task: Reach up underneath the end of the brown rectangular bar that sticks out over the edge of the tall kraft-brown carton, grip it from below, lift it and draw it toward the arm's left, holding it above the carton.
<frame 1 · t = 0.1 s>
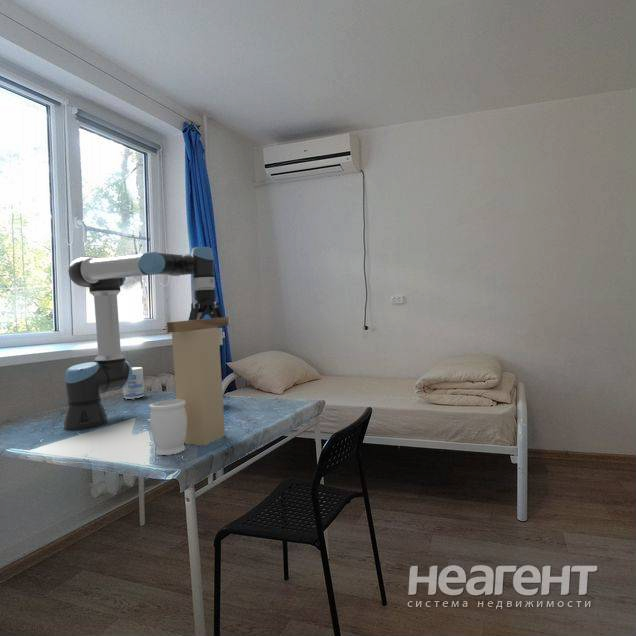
hand: (208, 346, 176), 28 cm above the table, tool pointing down, fingers open, 13 cm apart
brown rectangular bar: (200, 328, 156), point 36 cm above the table, touching carton
supplement tub: (134, 398, 234), on the table
carton: (202, 439, 155), on the table
jar: (170, 452, 144), on the table
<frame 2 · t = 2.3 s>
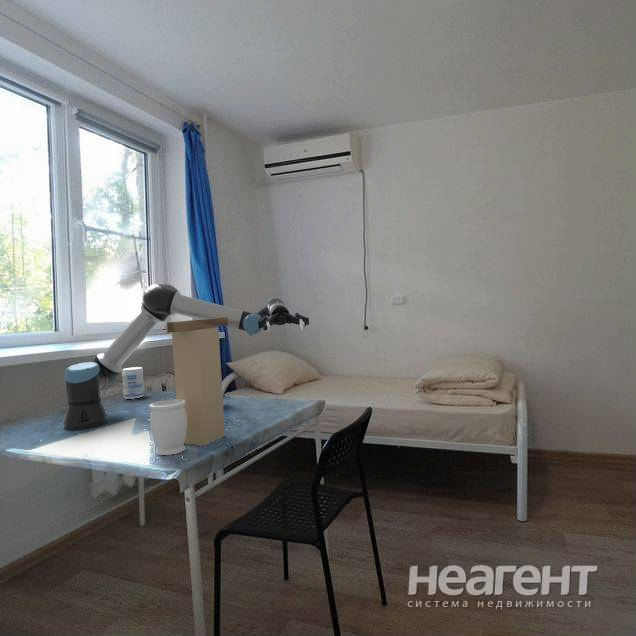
hand: (286, 328, 169), 34 cm above the table, tool horizontal, fingers open, 12 cm apart
nothing on the table moved.
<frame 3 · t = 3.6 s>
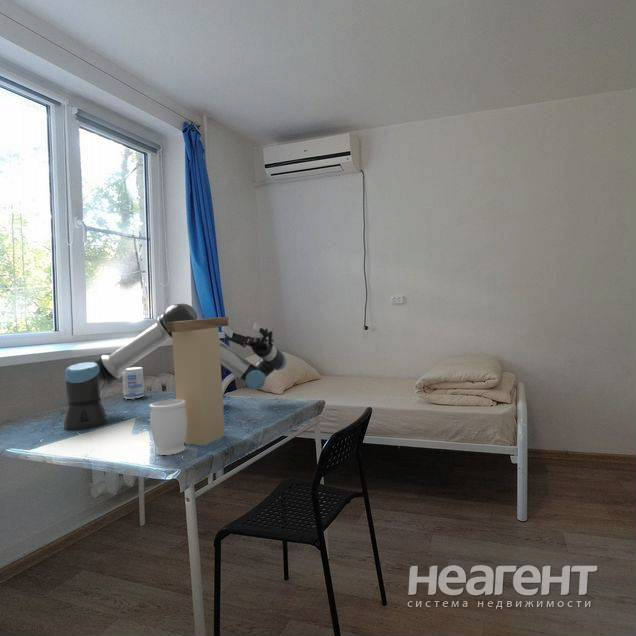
hand: (238, 326, 178), 35 cm above the table, tool pointing upward, fingers open, 13 cm apart
nothing on the table moved.
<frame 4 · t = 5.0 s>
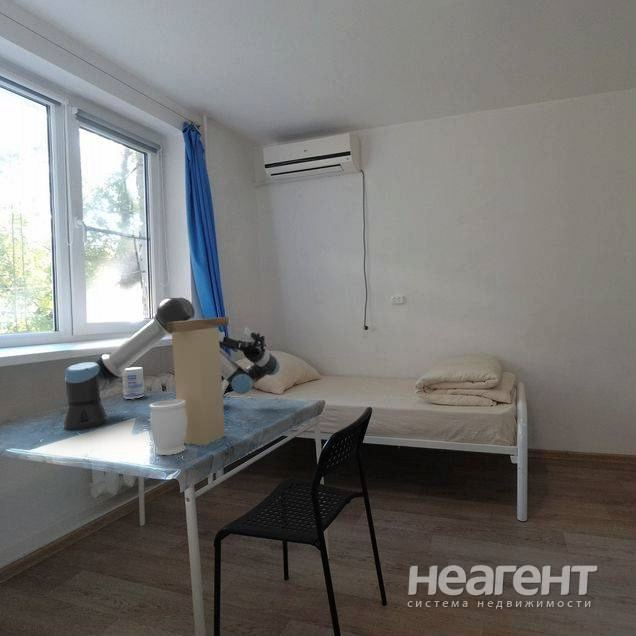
hand: (229, 330, 172), 34 cm above the table, tool pointing upward, fingers open, 13 cm apart
nothing on the table moved.
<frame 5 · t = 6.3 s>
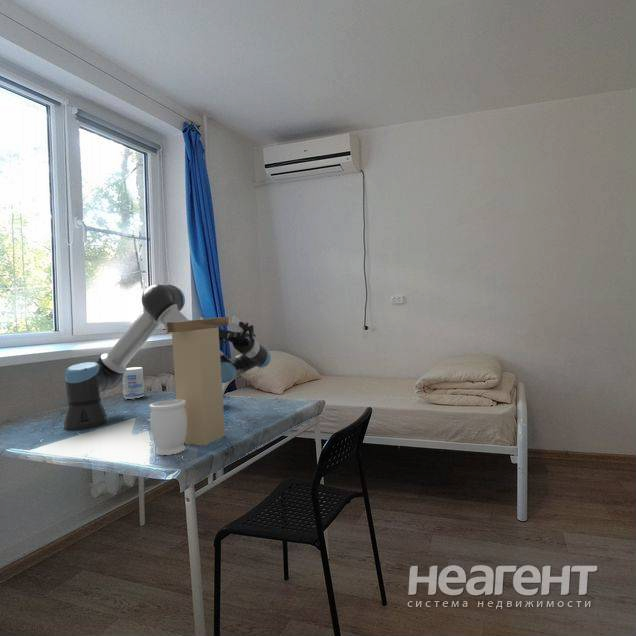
hand: (216, 319, 165), 38 cm above the table, tool pointing upward, fingers open, 13 cm apart
nothing on the table moved.
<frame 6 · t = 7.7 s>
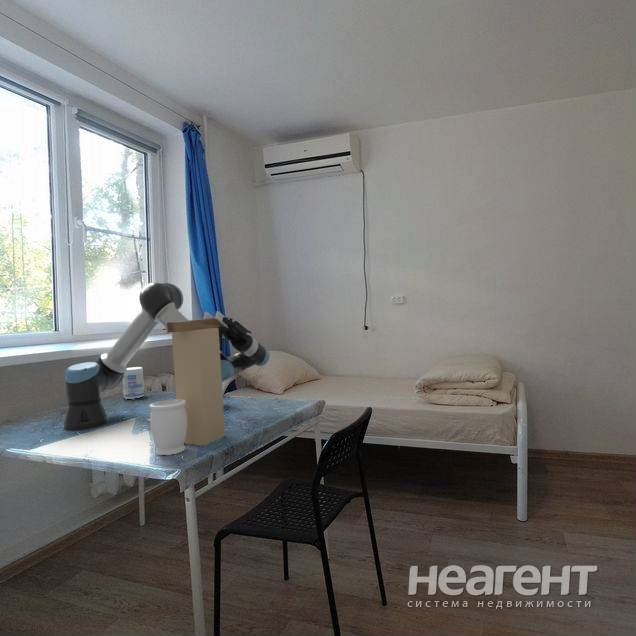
hand: (210, 315, 162), 40 cm above the table, tool pointing upward, fingers closed on brown rectangular bar, 4 cm apart
brown rectangular bar: (200, 328, 156), point 36 cm above the table, touching carton, gripper
everything else where it was.
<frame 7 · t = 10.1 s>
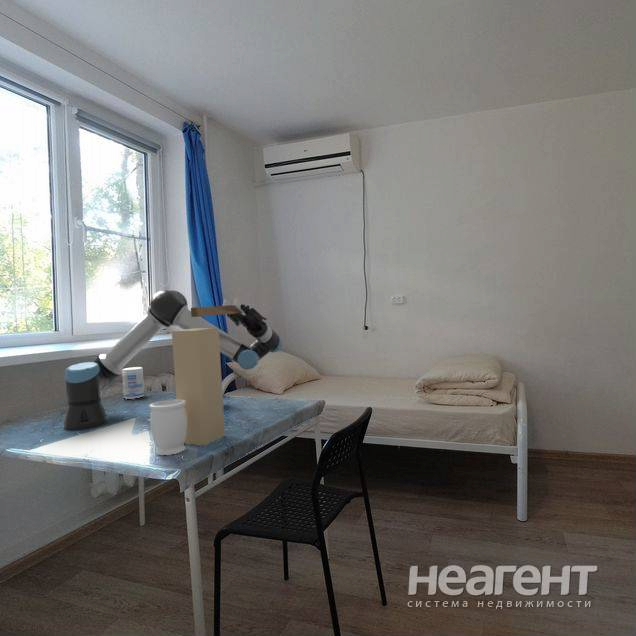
hand: (229, 302, 173), 44 cm above the table, tool pointing upward, fingers closed on brown rectangular bar, 4 cm apart
brown rectangular bar: (220, 314, 167), point 40 cm above the table, touching gripper
everything else where it was.
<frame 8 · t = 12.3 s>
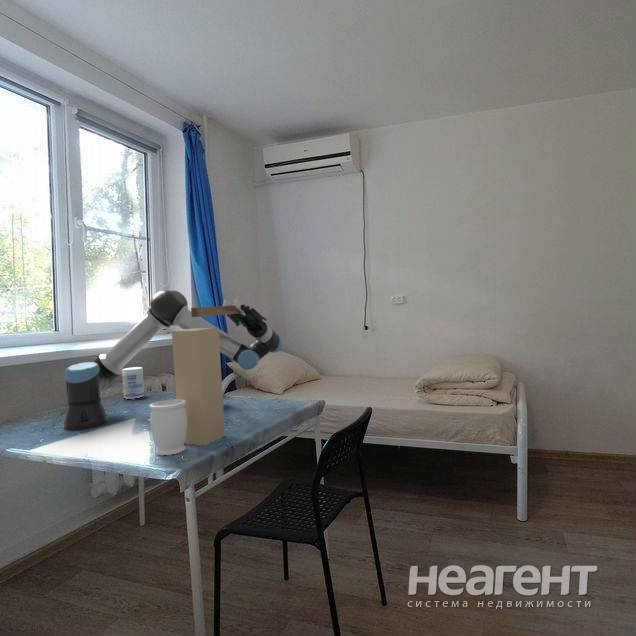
hand: (229, 302, 173), 44 cm above the table, tool pointing upward, fingers closed on brown rectangular bar, 4 cm apart
brown rectangular bar: (220, 314, 167), point 40 cm above the table, touching gripper
everything else where it was.
at the end: brown rectangular bar moved 12.6 cm from its start; brown rectangular bar point 40.0 cm above the table; the gripper is holding brown rectangular bar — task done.
